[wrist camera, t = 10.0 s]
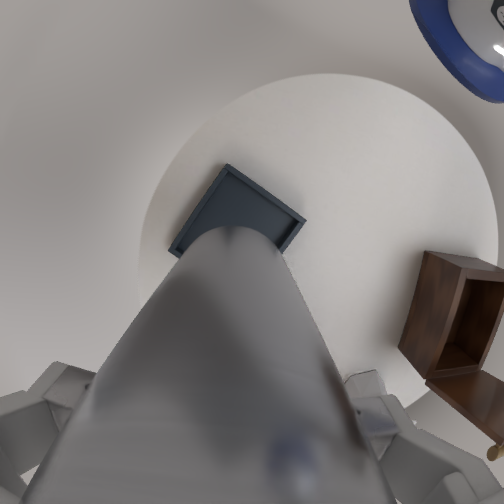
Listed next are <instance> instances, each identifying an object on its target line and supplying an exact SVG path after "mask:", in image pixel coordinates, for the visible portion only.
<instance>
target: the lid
mask: <svg viewBox="0 0 504 504" xmlns="http://www.w3.org/2000/svg"><path fill="white" fill-rule="evenodd" d="M425 385H426V386H427V387H429V388H430V389H431V390H432V391H434V392H435V393H436V394H437V395H438V396H440V397H441V398H442V399H443V400H445V401H446V402H447V403H448V404H450V405H451V406H452V407H453V408H454V409H456V410H457V411H458V412H459V413H460V414H462V415H463V416H464V417H465V418H467V419H468V420H469V421H470V422H471V423H473V424H474V425H475V426H476V427H478V428H479V429H480V430H481V431H482V432H484V433H485V434H486V435H487V436H489V437H490V438H491V439H492V440H493V441H495V442H496V445H494V446H492V447H490V448H489V449H488V451H487V458H488V460H489V461H494V460H496V459H498V458H500V457H502V456H504V382H503V381H501V380H499V379H497V378H496V377H494V376H492V375H490V374H489V373H487V372H485V371H483V370H480V371H475V372H470V373H464V374H458V375H452V376H445V377H438V378H430V379H426V382H425Z"/></svg>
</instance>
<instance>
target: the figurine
mask: <svg viewBox="0 0 504 504" xmlns="http://www.w3.org/2000/svg"><path fill="white" fill-rule="evenodd" d="M345 386H346V389H347V391H348V393H349V395H350V397H351V398H361V397H374V396H375V397H376V396H381V395H387V391H386V388H385V384H384V382H383V381H382V379H381V378H380V376H379V374H378V373H377V371H376V370H374V371H370V372H366V373H362V374H357V375H353V376H351V377H350V378H349V379H348V381H347V382H346V383H345ZM412 422H413V423H414V425H415V424H416V422H417V421H412Z"/></svg>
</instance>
